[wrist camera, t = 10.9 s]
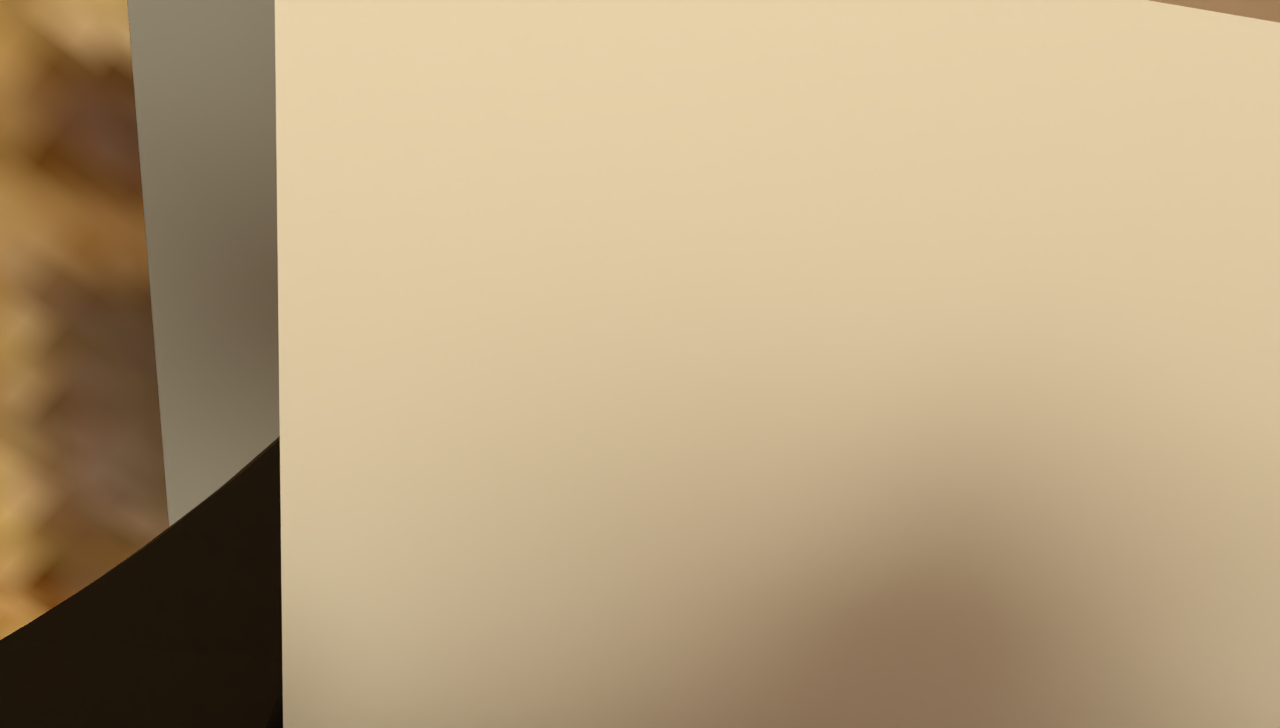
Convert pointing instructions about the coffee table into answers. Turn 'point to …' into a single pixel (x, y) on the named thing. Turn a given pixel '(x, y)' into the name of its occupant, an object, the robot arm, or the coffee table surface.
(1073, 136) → the off-white block
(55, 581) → the coffee table surface
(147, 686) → the robot arm
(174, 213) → the grey mat
